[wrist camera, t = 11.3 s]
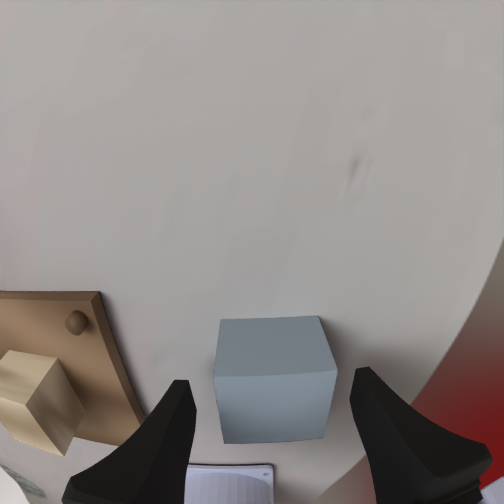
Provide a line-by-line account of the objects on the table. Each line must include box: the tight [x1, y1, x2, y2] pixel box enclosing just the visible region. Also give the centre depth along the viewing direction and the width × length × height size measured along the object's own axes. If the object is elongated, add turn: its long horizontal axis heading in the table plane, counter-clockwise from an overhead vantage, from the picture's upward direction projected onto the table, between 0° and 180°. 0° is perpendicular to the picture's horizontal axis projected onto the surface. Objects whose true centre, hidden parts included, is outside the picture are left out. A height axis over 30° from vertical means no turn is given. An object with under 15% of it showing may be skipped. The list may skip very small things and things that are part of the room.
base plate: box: [0, 291, 146, 446], centre depth 15 cm, size 12×12×2 cm
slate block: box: [213, 315, 338, 444], centre depth 13 cm, size 4×4×4 cm
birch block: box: [0, 350, 85, 457], centre depth 13 cm, size 4×4×4 cm
